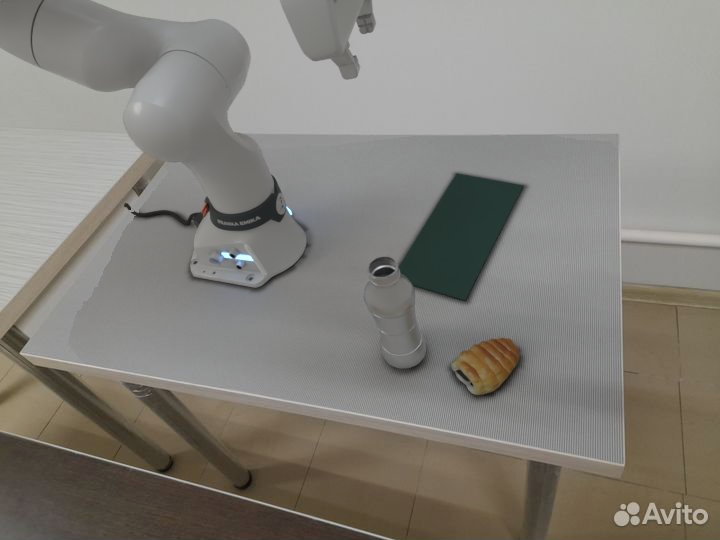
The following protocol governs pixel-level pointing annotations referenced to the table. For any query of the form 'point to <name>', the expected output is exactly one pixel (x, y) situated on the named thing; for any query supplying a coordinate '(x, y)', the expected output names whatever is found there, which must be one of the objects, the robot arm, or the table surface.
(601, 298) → the table surface
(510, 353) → the pastry
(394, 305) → the plastic bottle
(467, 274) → the mat
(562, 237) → the table surface
